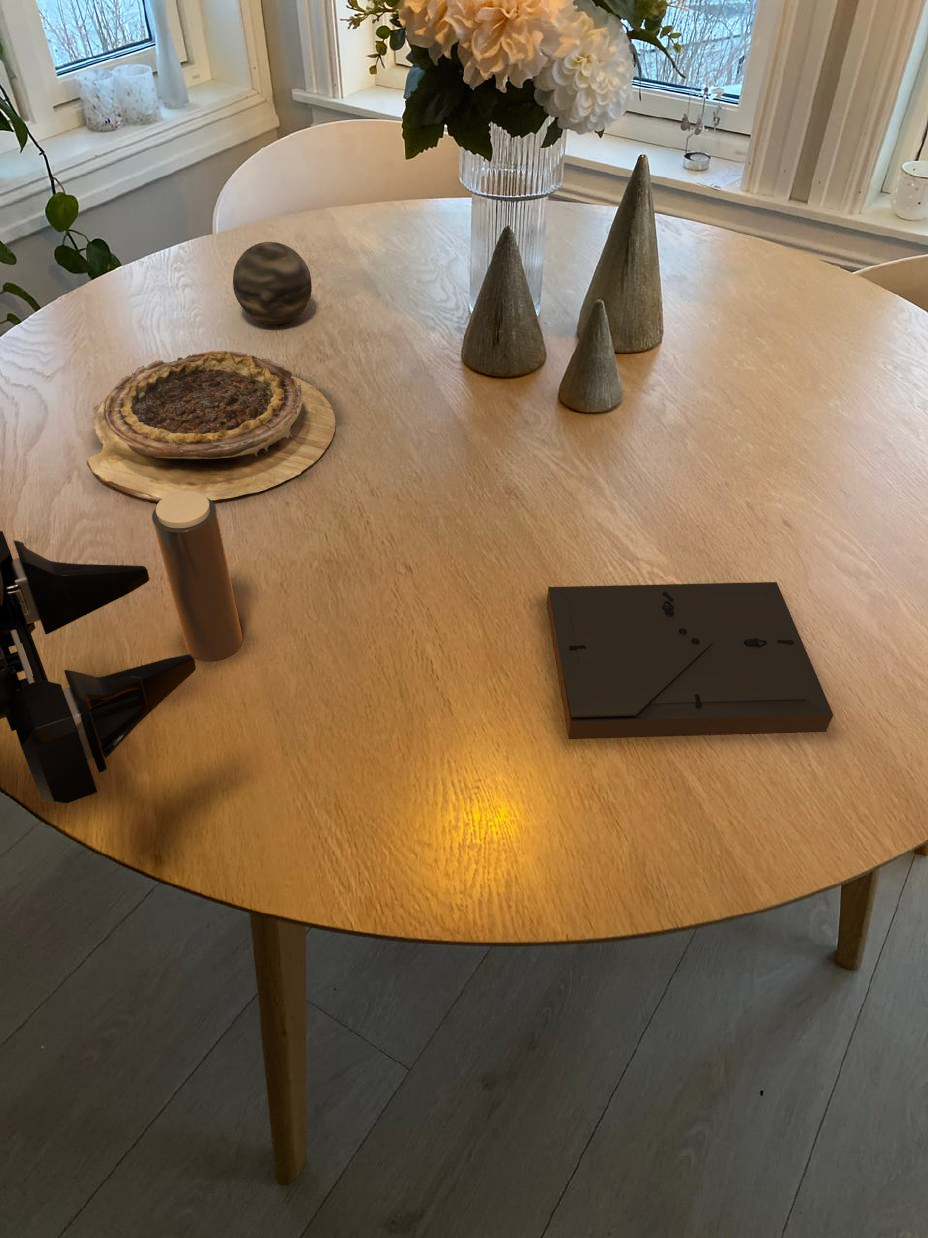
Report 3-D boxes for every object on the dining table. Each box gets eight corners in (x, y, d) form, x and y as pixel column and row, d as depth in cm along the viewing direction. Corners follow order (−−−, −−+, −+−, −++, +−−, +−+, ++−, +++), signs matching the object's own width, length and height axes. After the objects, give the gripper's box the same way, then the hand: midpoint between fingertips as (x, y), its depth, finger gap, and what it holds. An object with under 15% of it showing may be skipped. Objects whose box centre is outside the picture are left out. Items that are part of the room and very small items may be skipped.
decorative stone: (310, 338, 123) (302, 262, 116) (232, 337, 123) (219, 261, 116) (319, 303, 130) (312, 229, 123) (245, 302, 130) (234, 228, 123)
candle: (195, 668, 81) (159, 532, 71) (179, 633, 84) (142, 498, 74) (250, 649, 82) (222, 514, 72) (232, 615, 85) (203, 481, 75)
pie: (244, 346, 121) (238, 309, 117) (386, 433, 107) (384, 394, 104) (35, 430, 107) (21, 390, 103) (168, 543, 93) (157, 501, 89)
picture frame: (568, 739, 76) (826, 731, 77) (571, 715, 74) (836, 708, 75) (546, 603, 87) (771, 598, 88) (548, 580, 85) (778, 575, 86)
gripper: (-144, 712, 42) (204, 606, 48) (-180, 492, 53) (103, 430, 60) (-64, 859, 49) (228, 750, 56) (-111, 638, 61) (135, 568, 67)
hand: (169, 615), depth 59 cm, fingers open, 9 cm apart
